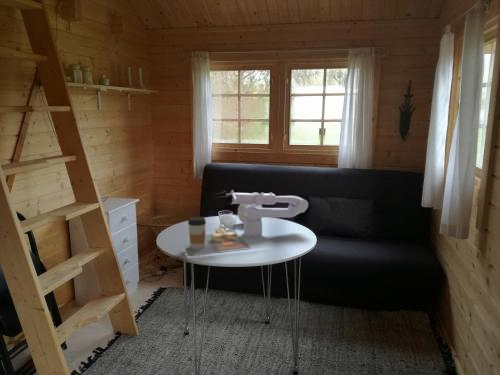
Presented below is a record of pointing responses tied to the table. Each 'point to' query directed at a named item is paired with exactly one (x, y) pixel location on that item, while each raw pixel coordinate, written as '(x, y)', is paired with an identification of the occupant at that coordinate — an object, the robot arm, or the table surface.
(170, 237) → the table surface
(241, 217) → the puzzle ball
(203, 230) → the coffee cup
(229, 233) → the t block
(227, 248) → the slate board
